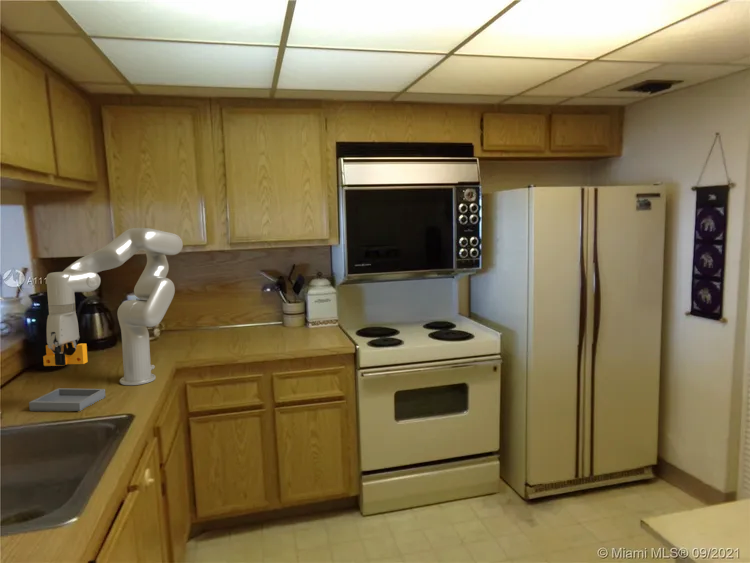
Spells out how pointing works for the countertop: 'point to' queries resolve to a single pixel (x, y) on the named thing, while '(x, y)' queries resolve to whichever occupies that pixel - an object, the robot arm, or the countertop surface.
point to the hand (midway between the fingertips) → (66, 362)
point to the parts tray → (67, 399)
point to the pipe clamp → (67, 356)
